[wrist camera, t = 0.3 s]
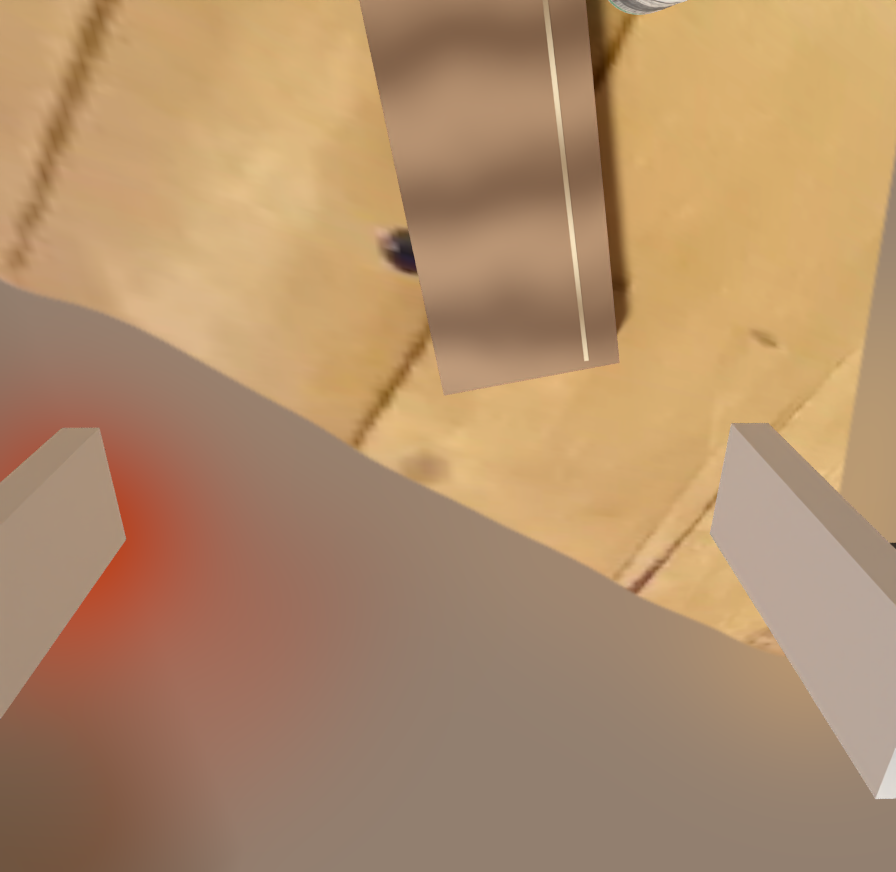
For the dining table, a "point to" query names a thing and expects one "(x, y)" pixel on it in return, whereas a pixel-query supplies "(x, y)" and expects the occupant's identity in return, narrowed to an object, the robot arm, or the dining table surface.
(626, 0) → the pill bottle
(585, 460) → the dining table surface
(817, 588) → the robot arm
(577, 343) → the board
